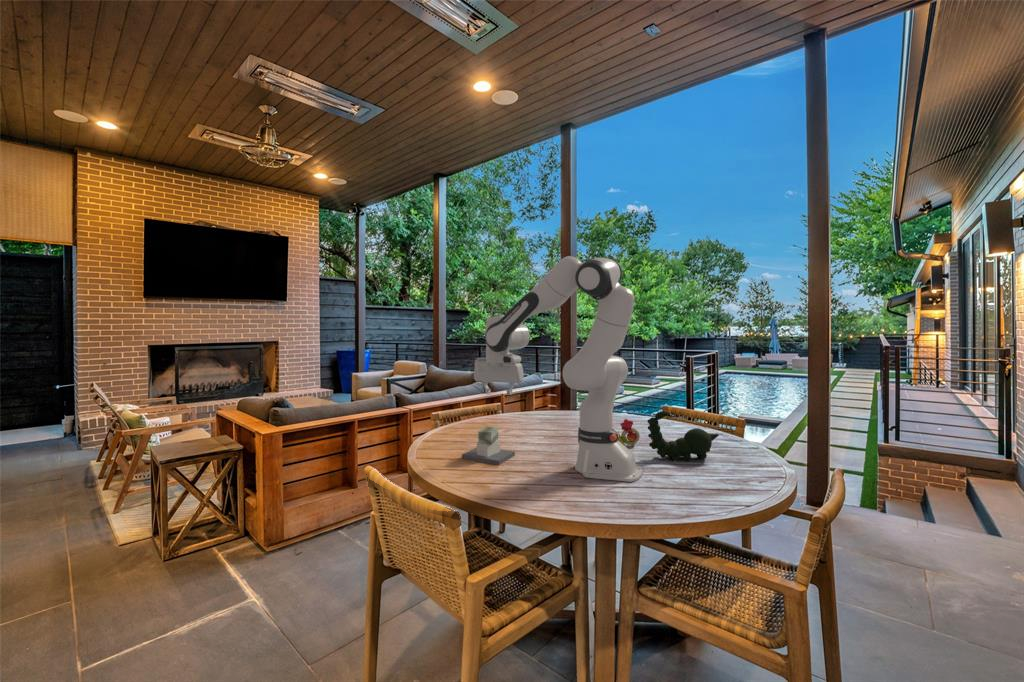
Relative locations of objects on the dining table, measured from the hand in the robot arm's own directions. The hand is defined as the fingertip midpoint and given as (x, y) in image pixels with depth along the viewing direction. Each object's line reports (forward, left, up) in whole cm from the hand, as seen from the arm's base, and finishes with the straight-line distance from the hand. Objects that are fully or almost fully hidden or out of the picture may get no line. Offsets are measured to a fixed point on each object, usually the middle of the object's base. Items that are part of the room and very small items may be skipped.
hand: (498, 393), depth 170 cm
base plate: (+2, +5, -23) cm, 24 cm away
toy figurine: (-63, -25, -24) cm, 72 cm away
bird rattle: (-41, -32, -23) cm, 57 cm away
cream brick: (+2, +5, -22) cm, 22 cm away
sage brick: (+2, +5, -17) cm, 18 cm away
